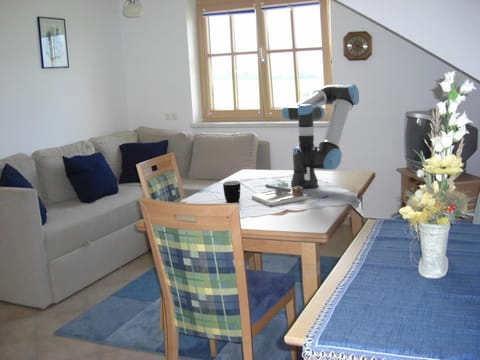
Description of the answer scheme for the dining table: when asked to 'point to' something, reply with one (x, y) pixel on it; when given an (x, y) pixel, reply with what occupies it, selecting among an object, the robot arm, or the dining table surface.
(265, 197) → the console
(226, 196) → the mug
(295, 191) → the slider walnut
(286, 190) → the rocker
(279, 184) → the slider sage
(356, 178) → the dining table surface
